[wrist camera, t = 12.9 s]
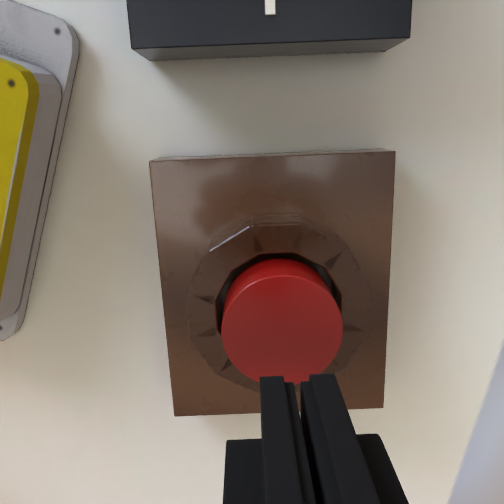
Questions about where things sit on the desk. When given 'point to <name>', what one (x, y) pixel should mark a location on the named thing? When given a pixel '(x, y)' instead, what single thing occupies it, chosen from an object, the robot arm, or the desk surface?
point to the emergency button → (28, 141)
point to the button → (281, 321)
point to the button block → (267, 247)
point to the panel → (264, 27)
